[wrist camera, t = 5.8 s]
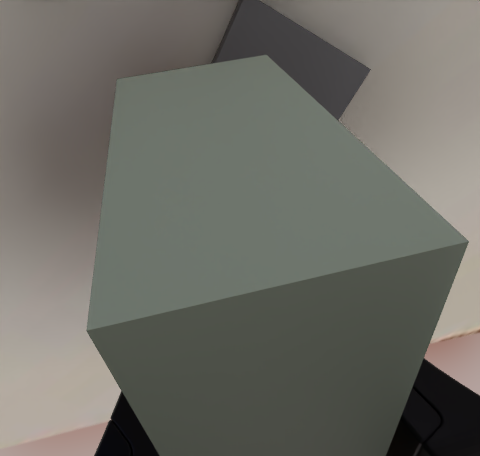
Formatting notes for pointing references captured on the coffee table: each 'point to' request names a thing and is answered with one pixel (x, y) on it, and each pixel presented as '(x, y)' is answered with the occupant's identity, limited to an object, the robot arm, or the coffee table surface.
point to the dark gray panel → (293, 54)
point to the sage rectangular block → (260, 269)
